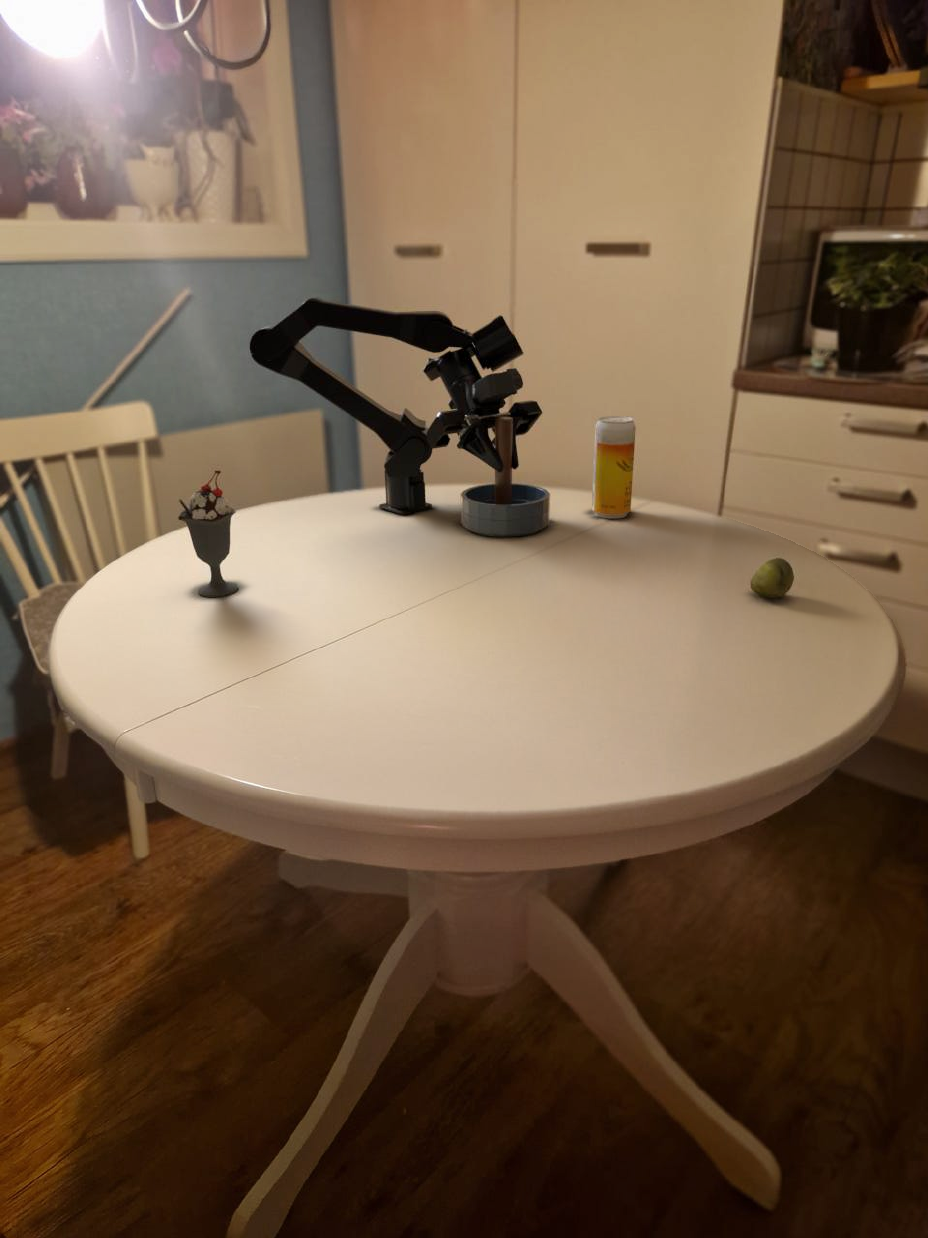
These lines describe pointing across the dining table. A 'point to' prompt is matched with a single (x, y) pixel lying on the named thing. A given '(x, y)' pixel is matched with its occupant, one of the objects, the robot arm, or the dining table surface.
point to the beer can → (613, 466)
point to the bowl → (505, 510)
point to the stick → (504, 460)
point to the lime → (773, 578)
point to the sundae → (210, 534)
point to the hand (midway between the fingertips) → (508, 469)
